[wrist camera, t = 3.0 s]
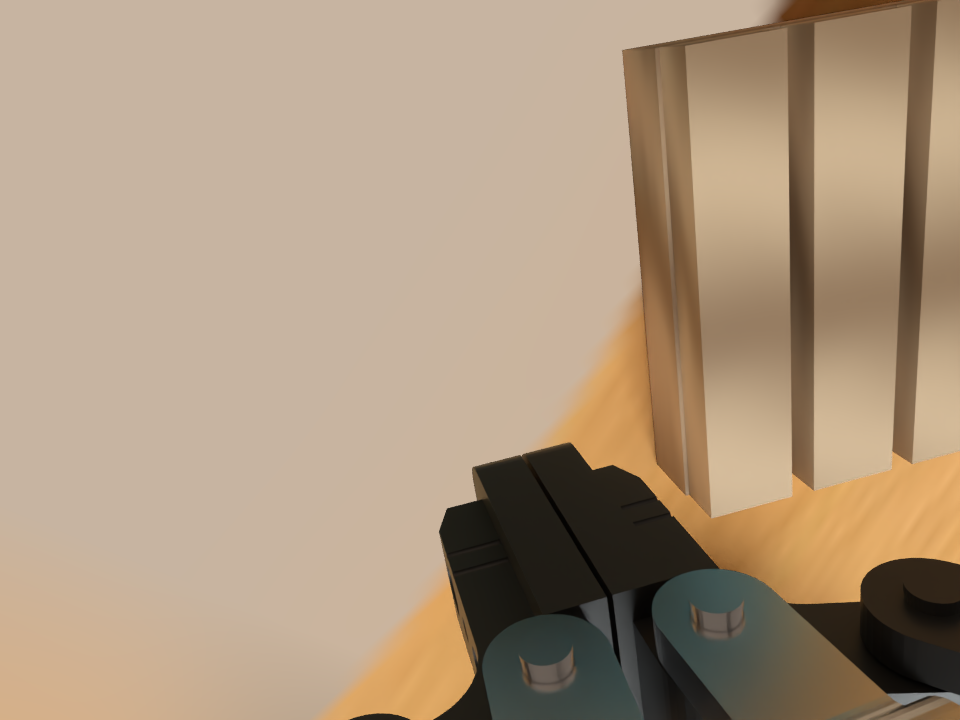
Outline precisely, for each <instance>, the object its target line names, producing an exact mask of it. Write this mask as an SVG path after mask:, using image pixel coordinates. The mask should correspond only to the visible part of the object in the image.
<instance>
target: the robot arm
mask: <svg viewBox="0 0 960 720" xmlns="http://www.w3.org/2000/svg"><path fill="white" fill-rule="evenodd" d="M472 474H473V481H474V486H475V492H476V497H477V501H474V502H471V503H467V504H463V505H459V506H455V507H451V508H448V509H447V510H446V513H445V516H444V519H443V522H442V525H441V527H440V530H439V534H440V538H441V543H442V548H443V552H444V557H445V562H446V566H447V571H448V576H449V580H450V585H451V590H452V594H453V599H454V604H455V608H456V613H457V617H458V621H459V624H460V627H461V631H462V634H463V637H464V641H465V643H466V647H467V650H468V654H469V657H470V660H471V663H472V666H473V670H474V673H475V677H474V679H473V682H472V684H471V685H470V687H469V689H468V690H467V692H466V693H465V694H464V695H463V696H462V698H461V699H460V700H459V701H458V702H457V703H456V704H455V705H453V706H452V707H451V708H450V709H449V710H447V711H446V712H444V713H443V714H442V715H440V716H439V717H437V718H435V719H434V720H960V565H959V564H955V563H951V562H946V561H941V560H936V559H927V558H906V559H898V560H893V561H889V562H886V563H883V564H880V565H879V566H877V567H875V568H873V569H872V570H871V571H869V572H868V573H867V574H866V576H865V577H864V579H863V581H862V584H861V600H860V602H847V603H824V604H791V603H786V602H785V601H784V600H783V599H782V598H781V597H780V596H779V595H778V594H777V593H775V592H774V591H773V590H772V589H771V588H770V587H768V586H767V585H766V584H765V583H763V582H761V581H760V580H758V579H756V578H754V577H752V576H749V575H747V574H744V573H740V572H736V571H731V570H725V569H719V568H718V567H717V565H716V564H715V563H714V562H713V561H712V560H711V559H710V557H709V556H708V555H707V554H706V553H705V552H704V551H703V549H702V548H701V547H700V546H699V545H698V544H697V543H696V541H695V540H694V539H693V538H692V537H691V536H690V535H689V533H688V532H687V531H686V530H685V529H684V528H683V527H682V525H681V524H680V523H679V522H678V521H677V520H676V519H675V517H674V516H673V517H671V514H670V512H669V510H668V509H667V508H666V507H665V506H664V505H663V504H662V502H661V501H660V500H659V501H658V500H657V497H656V496H655V494H654V493H653V492H652V491H651V490H650V489H649V488H648V486H647V485H646V484H645V483H644V482H643V481H642V480H641V478H639V477H637V476H635V475H633V474H631V473H629V472H626V471H624V470H622V469H620V468H618V467H616V466H614V465H611V466H607V467H603V468H599V469H596V470H592V469H591V468H590V466H589V465H588V464H587V463H586V461H585V460H584V459H583V457H582V456H581V455H580V453H579V452H578V451H577V450H576V448H575V447H574V446H573V445H572V444H571V443H565V444H561V445H557V446H553V447H549V448H545V449H541V450H537V451H533V452H529V453H526V454H523V455H522V457H521V456H520V455H518V456H514V457H511V458H507V459H503V460H499V461H495V462H491V463H487V464H483V465H479V466H475V467H473V468H472ZM350 720H410V719H407V718H405V717H402V716H399V715H393V714H379V713H377V714H369V715H363V716H360V717H356V718H353V719H350Z"/></svg>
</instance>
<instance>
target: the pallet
mask: <svg viewBox="0 0 960 720" xmlns="http://www.w3.org/2000/svg"><path fill="white" fill-rule="evenodd" d="M622 52H623V64H624V75H625V87H626V99H627V111H628V123H629V135H630V146H631V159H632V171H633V183H634V194H635V207H636V218H637V231H638V243H639V254H640V267H641V279H642V290H643V302H644V314H645V326H646V338H647V350H648V362H649V374H650V386H651V398H652V410H653V422H654V434H655V446H656V458H657V465H658V466H659V467H660V468H661V469H662V470H663V471H664V472H665V473H666V474H667V475H668V477H669V478H670V479H671V480H672V481H673V482H674V483H675V484H676V485H677V486H678V487H679V489H680V490H681V491H682V492H683V493H684V494H685V495H690V496H691V497H692V498H693V499H694V500H695V501H696V502H697V503H698V504H699V506H700V507H701V508H702V509H703V510H704V511H705V512H706V513H707V514H708V515H709V516H710V517H711V518H715V517H719V516H722V515H726V514H730V513H734V512H737V511H741V510H745V509H748V508H752V507H756V506H759V505H763V504H767V503H770V502H774V501H778V500H781V499H785V498H789V497H792V473H793V474H794V475H795V476H796V477H798V478H799V479H800V480H801V481H803V482H804V483H805V484H806V485H807V486H809V487H810V488H811V489H812V490H814V491H815V490H818V489H822V488H826V487H829V486H833V485H837V484H840V483H844V482H848V481H851V480H855V479H859V478H863V477H866V476H870V475H874V474H877V473H881V472H885V471H888V470H892V451H893V452H894V453H896V454H897V455H899V456H901V457H902V458H904V459H905V460H907V461H908V462H910V463H911V464H914V463H918V462H922V461H925V460H929V459H933V458H936V457H940V456H944V455H947V454H951V453H955V452H958V451H960V0H903V1H898V2H892V3H886V4H881V5H875V6H869V7H864V8H858V9H853V10H847V11H841V12H836V13H830V14H824V15H819V16H813V17H807V18H802V19H796V20H790V21H785V22H779V23H773V24H768V25H762V26H756V27H751V28H746V29H740V30H734V31H728V32H723V33H717V34H711V35H706V36H700V37H694V38H689V39H683V40H677V41H672V42H666V43H661V44H655V45H649V46H643V47H638V48H633V49H626V50H623V51H622Z"/></svg>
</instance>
